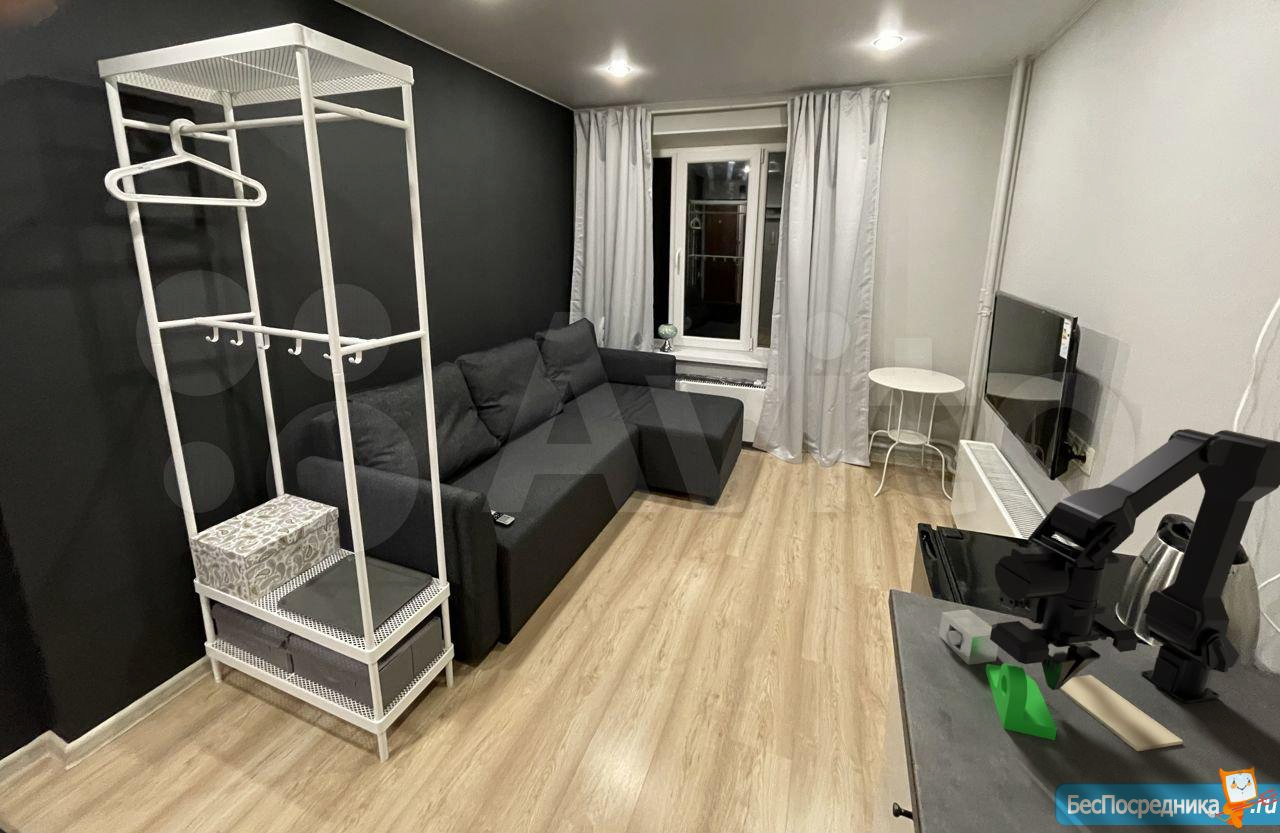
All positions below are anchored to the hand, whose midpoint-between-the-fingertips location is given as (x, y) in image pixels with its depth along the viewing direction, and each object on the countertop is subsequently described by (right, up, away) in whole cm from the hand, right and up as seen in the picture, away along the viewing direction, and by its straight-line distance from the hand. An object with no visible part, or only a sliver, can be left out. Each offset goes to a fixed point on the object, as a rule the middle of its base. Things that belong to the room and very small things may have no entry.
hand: (1052, 687), depth 82 cm
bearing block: (-5, 0, +13) cm, 14 cm away
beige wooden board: (+8, -3, 0) cm, 9 cm away
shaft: (-5, +1, +12) cm, 13 cm away
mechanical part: (-4, -3, +1) cm, 6 cm away
